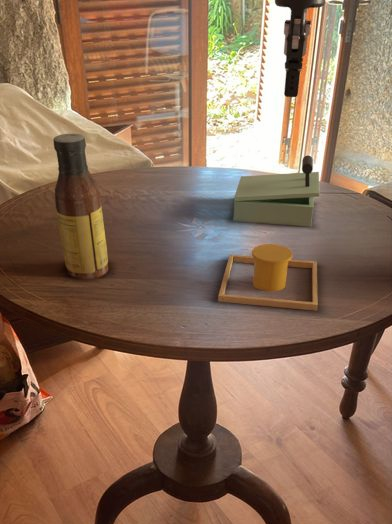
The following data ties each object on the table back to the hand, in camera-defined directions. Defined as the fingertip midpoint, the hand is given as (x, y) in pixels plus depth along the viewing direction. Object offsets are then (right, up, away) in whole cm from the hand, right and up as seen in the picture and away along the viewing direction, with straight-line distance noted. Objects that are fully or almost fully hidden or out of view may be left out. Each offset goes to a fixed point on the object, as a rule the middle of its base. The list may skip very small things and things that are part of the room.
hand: (290, 95), depth 93 cm
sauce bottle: (-32, -31, -8) cm, 45 cm away
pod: (-5, -32, -11) cm, 35 cm away
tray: (-5, -33, -11) cm, 35 cm away
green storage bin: (-1, -17, +12) cm, 21 cm away
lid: (-1, -13, +9) cm, 15 cm away
